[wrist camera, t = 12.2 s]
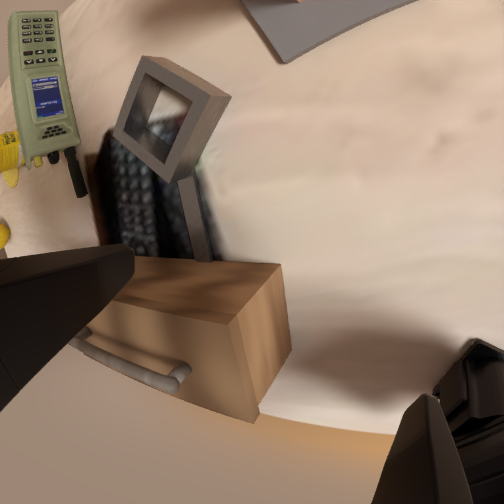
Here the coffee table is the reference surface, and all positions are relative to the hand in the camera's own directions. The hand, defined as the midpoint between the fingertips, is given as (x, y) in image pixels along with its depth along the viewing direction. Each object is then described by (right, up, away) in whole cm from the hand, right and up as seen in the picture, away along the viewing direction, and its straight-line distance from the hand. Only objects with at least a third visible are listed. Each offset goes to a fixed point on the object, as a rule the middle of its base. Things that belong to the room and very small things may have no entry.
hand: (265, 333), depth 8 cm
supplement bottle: (-33, +18, +26) cm, 45 cm away
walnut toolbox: (-6, -2, +21) cm, 22 cm away
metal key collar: (-5, +9, +15) cm, 18 cm away
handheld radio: (-21, +20, +19) cm, 35 cm away
